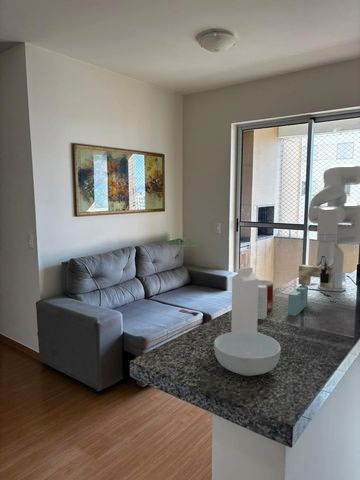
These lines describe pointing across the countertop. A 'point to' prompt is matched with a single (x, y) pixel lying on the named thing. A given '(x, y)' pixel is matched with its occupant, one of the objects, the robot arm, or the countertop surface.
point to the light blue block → (297, 300)
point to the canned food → (268, 293)
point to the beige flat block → (313, 275)
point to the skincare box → (262, 301)
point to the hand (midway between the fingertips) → (325, 281)
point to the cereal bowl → (247, 352)
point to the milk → (244, 301)
